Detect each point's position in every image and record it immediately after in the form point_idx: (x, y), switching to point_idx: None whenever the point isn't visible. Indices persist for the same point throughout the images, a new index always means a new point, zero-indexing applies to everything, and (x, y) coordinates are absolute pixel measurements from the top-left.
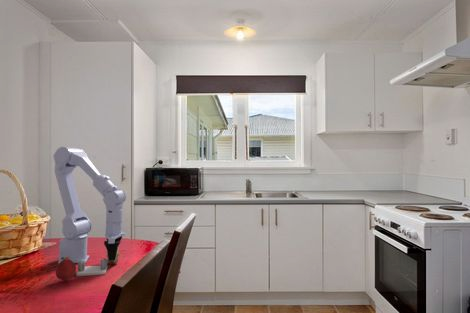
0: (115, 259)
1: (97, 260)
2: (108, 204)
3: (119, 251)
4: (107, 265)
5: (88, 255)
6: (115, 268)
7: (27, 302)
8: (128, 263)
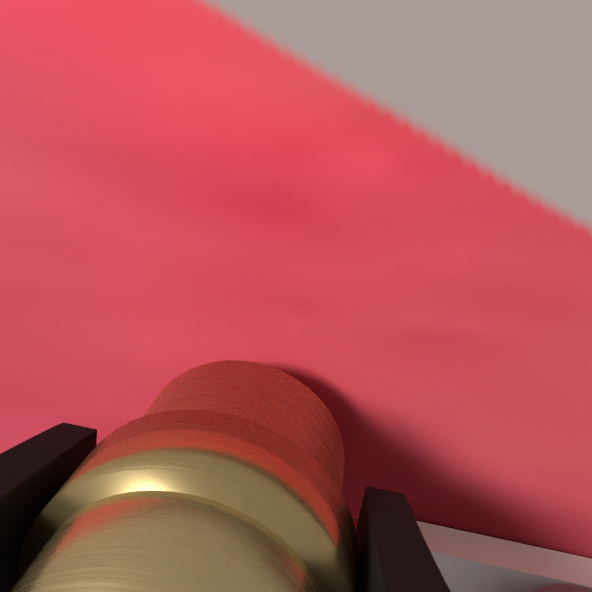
0: (329, 464)
1: None
2: None
3: (172, 470)
4: None
5: None
6: (521, 417)
7: None
8: (317, 158)
